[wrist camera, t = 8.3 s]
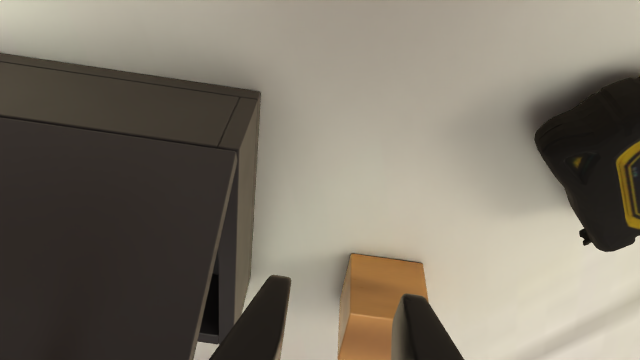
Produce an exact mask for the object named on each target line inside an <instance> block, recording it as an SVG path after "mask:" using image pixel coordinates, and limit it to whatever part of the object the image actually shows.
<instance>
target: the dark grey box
mask: <svg viewBox="0 0 640 360" xmlns="http://www.w3.org/2000/svg"><path fill="white" fill-rule="evenodd" d="M260 100H261V92H259V91H252V90H245V89H239V88H232V87H225V86H218V85H212V84H205V83H198V82H191V81H184V80H178V79H171V78H164V77H157V76H150V75H144V74H137V73H130V72H123V71H117V70H110V69H103V68H96V67H89V66H83V65H76V64H69V63H62V62H56V61H49V60H42V59H35V58H28V57H22V56H15V55H8V54H1V53H0V118H7V119H14V120H21V121H28V122H35V123H41V124H48V125H55V126H62V127H69V128H76V129H83V130H90V131H97V132H104V133H111V134H118V135H125V136H132V137H139V138H145V139H152V140H159V141H166V142H173V143H180V144H187V145H194V146H201V147H208V148H215V149H222V150H229V151H235V152H236V155H237V165H236V169H235V174H234V178H233V183H232V187H231V192H230V196H229V201H228V205H227V210H226V214H225V219H224V223H223V228H222V232H221V237H220V241H219V246H218V250H217V255H216V259H215V264H214V268H213V273H212V277H211V282H210V286H209V291H208V295H207V300H206V304H205V309H204V313H203V318H202V322H201V327H200V331H199V336H198V340H197V341H198V342H205V343H213V344H218V343H219V344H221V342H222V341H223V340H224V338H225V337H226V335H227V334H228V333H229V331H230V330H231V329H232V327H233V326H234V324H235V323H236V322H237V320H238V319H239V318H240V316H241V314H242V310H243V306H244V302H245V298H246V293H247V289H248V285H249V281H250V275H251V257H252V240H253V222H254V205H255V187H256V170H257V152H258V135H259V117H260Z"/></svg>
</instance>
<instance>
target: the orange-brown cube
mask: <svg viewBox="0 0 640 360" xmlns="http://www.w3.org/2000/svg"><path fill="white" fill-rule="evenodd" d="M406 293H407V294H415V295H421V296H423V297H425V298H426V300H427V301H428V295H427V289H426V282H425V275H424V268H423V264H422V263H416V262H409V261H402V260H395V259H388V258H380V257H373V256H366V255H359V254H351V255H350V260H349V264H348V268H347V272H346V276H345V280H344V284H343V289H342V293H341V297H340V308H339V332H338V357H337V358H338V360H391V338H392V323H393V318H394V315H395V313H396V310H397V307H398V304H399V302H400V299H401V297H402V295H403V294H406ZM428 303H429V302H428Z"/></svg>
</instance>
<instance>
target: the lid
mask: <svg viewBox="0 0 640 360" xmlns="http://www.w3.org/2000/svg"><path fill="white" fill-rule="evenodd" d="M236 165H237V155H236V152H235V151H229V150H222V149H215V148H208V147H201V146H194V145H187V144H180V143H173V142H166V141H159V140H152V139H145V138H139V137H132V136H125V135H118V134H111V133H104V132H97V131H90V130H83V129H76V128H69V127H62V126H55V125H48V124H41V123H35V122H28V121H21V120H14V119H7V118H0V360H193V358H194V354H195V349H196V345H197V340H198V336H199V331H200V327H201V322H202V318H203V313H204V309H205V304H206V300H207V295H208V291H209V286H210V282H211V277H212V273H213V268H214V264H215V259H216V255H217V250H218V246H219V241H220V237H221V232H222V228H223V223H224V219H225V214H226V210H227V205H228V201H229V196H230V192H231V187H232V183H233V178H234V174H235V169H236Z"/></svg>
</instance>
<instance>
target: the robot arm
mask: <svg viewBox="0 0 640 360" xmlns="http://www.w3.org/2000/svg"><path fill="white" fill-rule="evenodd" d="M290 287H291V279H290V278H289V277H285V276H278V275H271V276H270V277H269V278H268V279H267V280H266V282H265V283H264V285H263V286H262V287H261V289H260V290H259V291H258V293H257V294H256V296H255V297H254V298H253V300H252V301H251V302H250V304H249V305H248V307H247V308H246V309H245V311H244V312H243V313H242V315H241V316H240V318H239V319H238V320H237V322H236V323H235V324H234V326H233V327H232V329H231V330H230V331H229V333H228V334H227V335H226V337H225V338H224V340H223V341H222V342H221V344H220V345H219V347H218V348H217V349H216V351H215V352H214V353H213V355H212V356H211V358H210V359H209V360H280V356H281V349H282V342H283V336H284V329H285V322H286V315H287V308H288V301H289V294H290ZM391 360H464V359H463V357H462V355H461V354H460V352H459V351H458V349H457V347H456V346H455V344H454V343H453V341H452V340H451V338H450V336H449V335H448V333H447V332H446V330H445V328H444V327H443V325H442V324H441V322H440V320H439V319H438V317H437V316H436V314H435V312H434V311H433V309H432V308H431V306H430V304H429V303H428V301H427V300H426V298H425V297H423V296H421V295H415V294H407V293H406V294H403V295H402V297H401V299H400V302H399V304H398V307H397V310H396V313H395V315H394V318H393V323H392V338H391Z"/></svg>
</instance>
